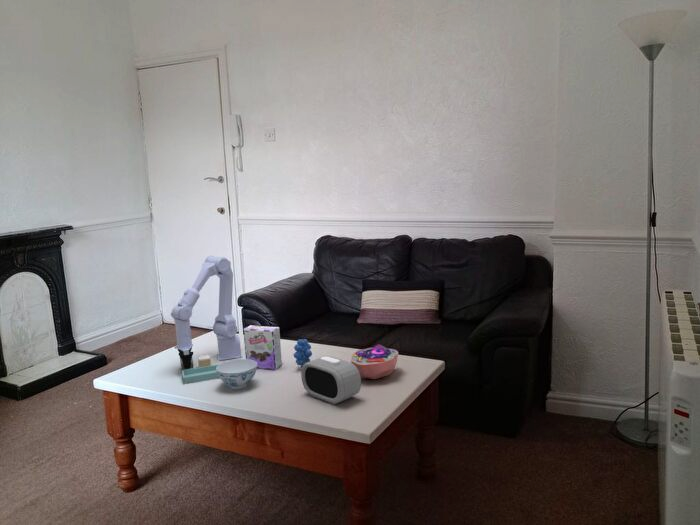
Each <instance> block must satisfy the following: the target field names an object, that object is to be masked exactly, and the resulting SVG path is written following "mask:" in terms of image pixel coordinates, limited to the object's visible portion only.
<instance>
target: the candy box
mask: <svg viewBox="0 0 700 525" xmlns="http://www.w3.org/2000/svg"><path fill="white" fill-rule="evenodd" d="M280 330H281V329H280V327H279V326H267V325H266V326H263V325H262V326H261V325H252V324H251V325H249V326H246V327H244V328H243V330H242V331H243V339H244V340H243V341H244V343H243V344H244V352H245V354H244V355H245V359H249V360H254V361H256V362H257V369H260V370H272V371H276V370H278V369H280V368H281V367H282V366H283V363H282V346H281V333H280Z"/></svg>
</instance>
